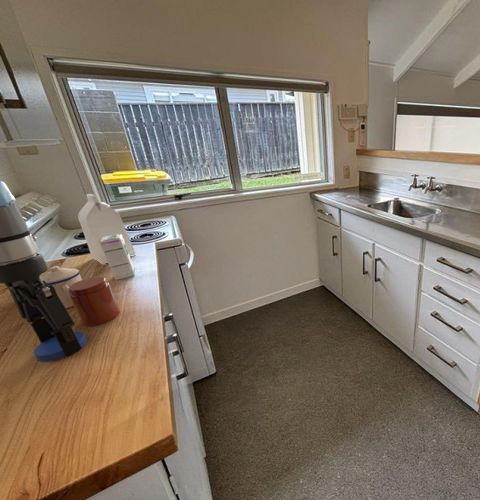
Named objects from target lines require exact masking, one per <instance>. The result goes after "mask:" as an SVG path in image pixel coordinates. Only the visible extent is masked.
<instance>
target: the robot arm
mask: <svg viewBox="0 0 480 500" xmlns="http://www.w3.org/2000/svg"><path fill="white" fill-rule="evenodd" d="M37 240H38V238H37V236H33V234H32V233H31V230H30V229H29V227H28V225H27V222H26V221H25V219H24V216H23V214H22V212H21V210H20V208H19V205H18V203H17V201H16V198H15V196H14V195H13V194H12V192H11V190H10V188H9V187H8V185H7V184H6V183H5V182H4V181H2V180H0V284H2V285H3V284H4V286H6V288H7V289H8V291H9V293H10V295H11V297H12V299H13V302H14V303H15V306H16V308H17V310H18V312H19V315H20V316H21V318H22V319H23V320H25V319H26V322H28V323H29V324H30V326H31V328H32V329H33V331H34V333H35V335H36V337H37V338H38V340H39V342H40V344H41V343H43V342H45V341H46V340H48V339H50V338H52V337H56V339H57V341H58V343H59V345H60V347H61V348H62V350H63V352H64V354H65V356H66V357H69V356H72V355H74V354H75V353H76V352H78V351H80V350H82V349H83V348H82V347H81V346H80V344H79V342H78V340H77V338H76V336H75V334H74V332H73V331H74V330H73V328H72V327H73V326H75V325H76V323H75V321H74V320H73V318H72V316H71V315H70V313H69V311H68V310H67V308H65V307H64V305H63V303H62V302H61V300H60V299H59V297H58V295H57V293H56V291H55V288H54V286H53V285H49V286H48V285H47V284H46V282H45V281H42V280H41V278H40V277H41V276H42V274H44V273H47V272H48V269H49V267H48V264H47V263H46V261H45V258H44V256H43V254H40V253H39V251H40V249H39V247H38V245H37V243H36V241H37Z"/></svg>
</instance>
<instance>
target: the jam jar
mask: <svg viewBox="0 0 480 500" xmlns="http://www.w3.org/2000/svg"><path fill="white" fill-rule="evenodd" d="M106 279H107V278H105V277H103V276H93V277H88V278H85V279H82V280H81V281H79V282H76V283H74V284H72V285H71V286H70V287H69V288H68V289H69V292H70V293H69V296H70V298H71V300H72V303H73V305H74V306H73V307H74V309H75V312H76V313H77V316H78V317H79V319H80V321H81V323H82V325H83V326H85V327H95V326H100V325H102V324H106V323H108V322H110V321H112V320H113V319H115V318H116V317H118V316H119V315H120V314H121V309H120V307H119V305H118V302H117V300H116V297H115V295H114V292H113V290H112V288H111V285H110V282H109V281H107V280H106Z"/></svg>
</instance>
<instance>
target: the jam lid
mask: <svg viewBox="0 0 480 500" xmlns="http://www.w3.org/2000/svg"><path fill="white" fill-rule="evenodd" d="M73 332H74V334H75V336H76V338H77V340H78V342H79V344H80V346H81V348H82V347H84V345H86V343H87V337H86V334H85V333H84V332H83V331H81V330H73ZM33 354H34V356H35V358H36V359H37V361H38V362H39V363H48V362H54V361H58V360H60V359H63V358H66V357H67V356H65V354H64V352H63V350H62V348H61V347H60V345H59V343H58V341H57V339H56V337H52V338H50V339H48V340H46V341H45V342H43V343H41V342H40V344H38V345H37V346H36V347H35V348H34V350H33Z"/></svg>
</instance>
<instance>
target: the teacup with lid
mask: <svg viewBox="0 0 480 500" xmlns="http://www.w3.org/2000/svg"><path fill="white" fill-rule="evenodd" d="M39 277H40V278H41V280H42V281H45V282H46V284H47V285H48V286H49V285H53V286H54V288H55V291H56V293H57V295H58V297H59V299H60V300H61V302H62V303H63V305H64V307H65V308H66V309H69V308H73V307H74V305H73V303H72V300H71V298H70V296H69V293H70V292H69V289H68V288H69V287H70V286H71V285H72V284H74V283H76V282H79V281H81V280H83V278H82V276H81V272H80V270H79V269H77V268H74V267H73V268H66V267H65V268H64V267H60V266H59V265H55V266H51V267H50V268H49V271H46V272H45V274H43V275H40V276H39Z"/></svg>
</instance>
